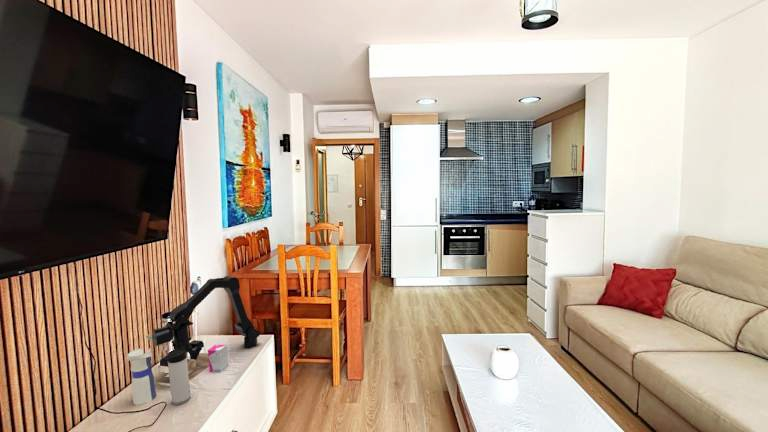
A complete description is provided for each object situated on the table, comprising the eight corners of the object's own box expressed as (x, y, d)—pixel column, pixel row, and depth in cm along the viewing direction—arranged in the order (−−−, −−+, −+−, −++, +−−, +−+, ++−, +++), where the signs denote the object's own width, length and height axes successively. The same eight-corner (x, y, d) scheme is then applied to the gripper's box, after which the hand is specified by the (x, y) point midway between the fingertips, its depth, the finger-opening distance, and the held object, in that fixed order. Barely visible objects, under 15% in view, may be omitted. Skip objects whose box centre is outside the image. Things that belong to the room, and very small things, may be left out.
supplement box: (229, 368, 158) (227, 344, 157) (221, 375, 153) (219, 350, 152) (217, 368, 159) (214, 344, 158) (209, 375, 153) (207, 350, 152)
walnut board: (201, 355, 172) (200, 352, 171) (225, 358, 168) (225, 355, 168) (162, 380, 150) (162, 377, 150) (189, 383, 147) (189, 380, 147)
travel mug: (195, 396, 138) (190, 347, 136) (180, 406, 132) (175, 355, 130) (183, 393, 140) (178, 345, 138) (168, 403, 134) (162, 353, 132)
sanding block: (181, 368, 157) (180, 358, 156) (196, 370, 155) (195, 359, 154) (172, 374, 152) (171, 363, 152) (187, 376, 150) (186, 365, 149)
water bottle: (140, 393, 142) (133, 333, 139) (161, 391, 142) (155, 332, 140) (126, 405, 134) (119, 343, 131) (149, 404, 134) (142, 341, 132)
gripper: (183, 327, 163) (186, 359, 164) (147, 345, 145) (151, 381, 146) (203, 328, 160) (206, 361, 161) (169, 347, 142) (172, 384, 143)
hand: (184, 371), depth 153 cm, fingers open, 9 cm apart
